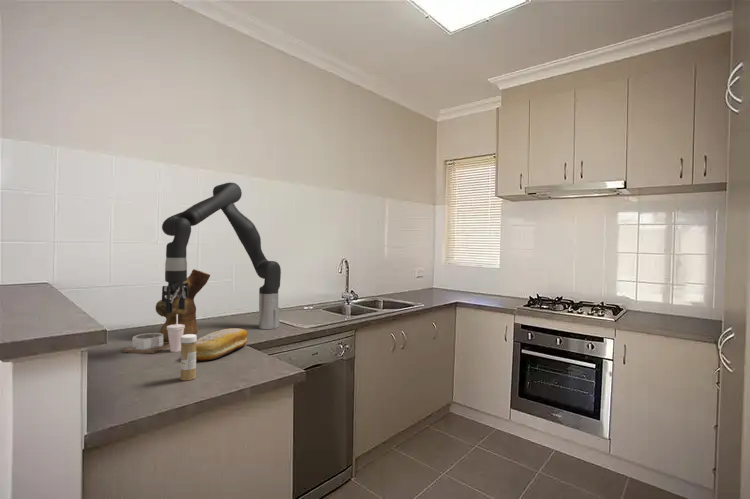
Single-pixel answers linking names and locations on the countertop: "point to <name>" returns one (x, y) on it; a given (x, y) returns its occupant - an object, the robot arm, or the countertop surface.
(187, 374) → the sprinkles bottle
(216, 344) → the bread
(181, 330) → the smoothie
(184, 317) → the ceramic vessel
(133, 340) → the duct collar
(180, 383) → the countertop surface
